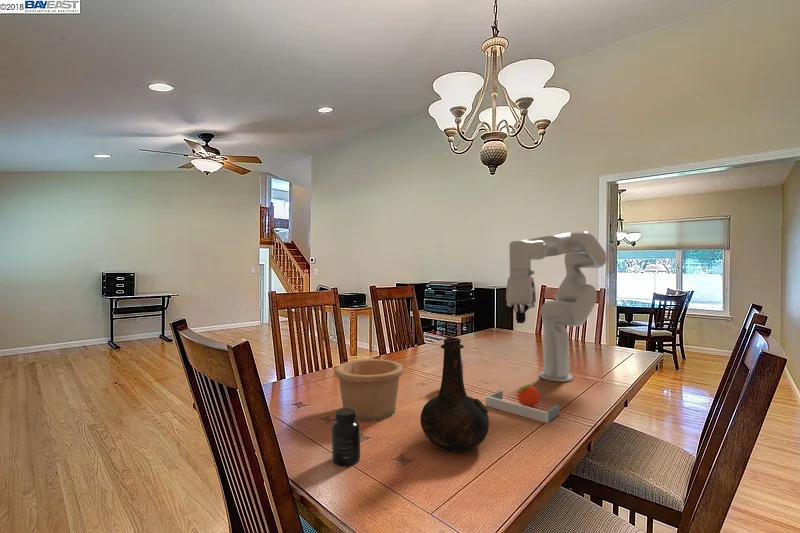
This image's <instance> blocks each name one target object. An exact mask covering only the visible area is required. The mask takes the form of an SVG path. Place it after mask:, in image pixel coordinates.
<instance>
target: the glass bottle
mask: <svg viewBox="0 0 800 533" xmlns="http://www.w3.org/2000/svg"><path fill="white" fill-rule="evenodd" d="M461 341H462V339H461V338H459V337H446V338H444V339H443V344H441V345H440V348H441V349H443V361H442V362H443V364H442V365H443V366H442V376H441V383H440V388H439V393H438V394H437V395H436V396H435V397H433V398H431V399H429V400H428V401H427V402H426V403H425V405H424V406H423V407H422V410H421V413H420V421H419V422H420V425H421V429H422V432H423V434H424V436H425V437H426V439H428V441H429V442H430V443H431V444H432V445H434V446H435V447H437V448H438V449H441V450H443V451H446V452H451V453H463V452H469V451H472V450H474V449H475V448H476V447H478V446H480V445H481V444H482V442H483V441H484V440H485V438H486V437H487V435H488V432H489V427H490V419H489V415H488V414H489V410H488V409H487V406H486V404H483V403H482V401H481V400H480V399H478V398H473V397H471V396H468V394H467V393H466V389H465V385H464V374H463V375H462V367H461V359H462V354H461V353H462V352H461V351H462V350H461V349H464V348H465V346H464V344H461Z"/></svg>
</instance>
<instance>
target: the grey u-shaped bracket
mask: <svg viewBox="0 0 800 533" xmlns="http://www.w3.org/2000/svg"><path fill="white" fill-rule="evenodd" d="M503 393H504V392H503V390H500V389H499V390H498V391H496V392H495V391H494V392H493V393H491V394H489V395H486V396H485V407H489V408H493V409H498V410H500V411H504V412H507V413H510V414H513V415H514V414H515V415H518V416H522V417H523V418H524V417H525V418H527V419H531V420H535V421H538V422H542V423H546V424H548V423H549V422H551V421H553V419H555V418H557V417H558V416H560V404H555V405H553V406H551V407H550V408H548V409H547V410H542V409H538V408H534V407H527V406H524V405H523V404H521V403H517V402H512V401H509V400H504V399H503V397H504V396H503Z"/></svg>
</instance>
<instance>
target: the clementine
mask: <svg viewBox="0 0 800 533" xmlns="http://www.w3.org/2000/svg"><path fill="white" fill-rule="evenodd" d="M517 399H518V401H519V403H520V405H524V406H527V407H531V408H533V407H534V406H536V405H537V404H538V403H539V402H540V393H539V390H538V389H537V388H536V387H535V386H533V385H531V384H525V385H522V386H521V387H520V388H519V389H518V391H517Z"/></svg>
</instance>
